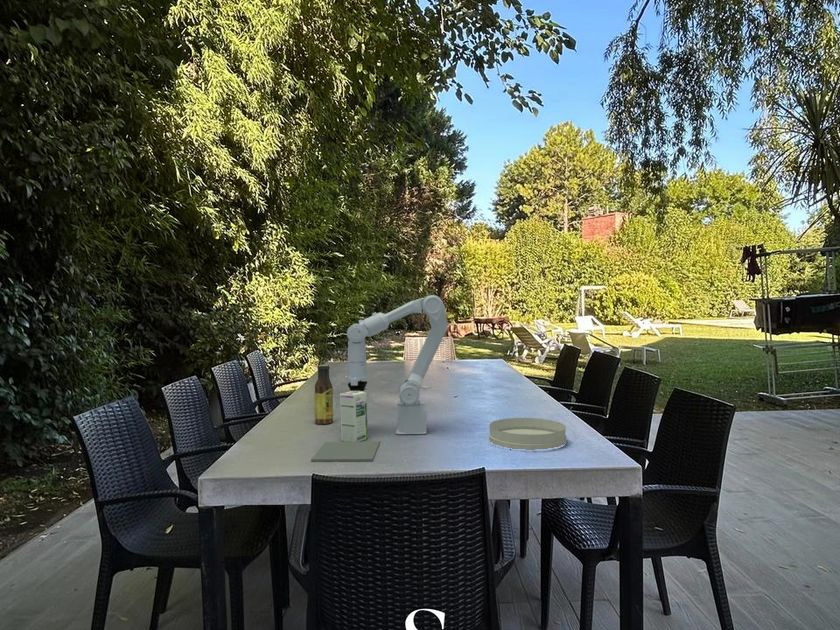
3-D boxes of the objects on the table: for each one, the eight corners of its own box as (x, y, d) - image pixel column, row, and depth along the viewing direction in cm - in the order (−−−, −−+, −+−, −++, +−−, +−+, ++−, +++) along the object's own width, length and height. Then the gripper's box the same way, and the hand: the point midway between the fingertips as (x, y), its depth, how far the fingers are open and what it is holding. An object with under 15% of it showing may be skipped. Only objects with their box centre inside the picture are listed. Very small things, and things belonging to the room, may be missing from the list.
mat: (379, 443, 159) (379, 441, 159) (372, 461, 141) (372, 459, 141) (325, 443, 160) (325, 441, 160) (311, 461, 142) (311, 459, 142)
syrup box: (356, 443, 160) (355, 394, 159) (340, 441, 163) (339, 392, 162) (368, 439, 164) (367, 391, 164) (352, 437, 168) (351, 389, 167)
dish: (480, 449, 153) (480, 431, 153) (498, 431, 174) (498, 415, 173) (561, 456, 145) (561, 437, 145) (570, 436, 165) (570, 420, 165)
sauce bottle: (329, 425, 184) (328, 366, 184) (311, 424, 185) (310, 366, 185) (336, 421, 191) (335, 364, 190) (319, 420, 192) (318, 364, 191)
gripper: (348, 359, 179) (348, 401, 179) (340, 364, 165) (341, 409, 165) (369, 359, 179) (370, 400, 179) (363, 364, 164) (364, 409, 165)
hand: (357, 405), depth 172 cm, fingers closed
